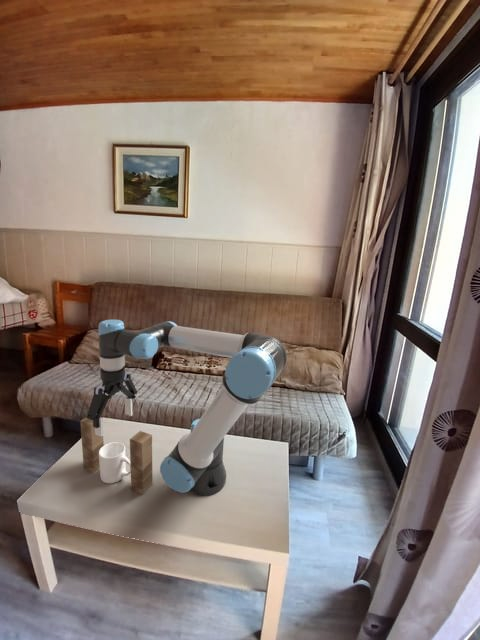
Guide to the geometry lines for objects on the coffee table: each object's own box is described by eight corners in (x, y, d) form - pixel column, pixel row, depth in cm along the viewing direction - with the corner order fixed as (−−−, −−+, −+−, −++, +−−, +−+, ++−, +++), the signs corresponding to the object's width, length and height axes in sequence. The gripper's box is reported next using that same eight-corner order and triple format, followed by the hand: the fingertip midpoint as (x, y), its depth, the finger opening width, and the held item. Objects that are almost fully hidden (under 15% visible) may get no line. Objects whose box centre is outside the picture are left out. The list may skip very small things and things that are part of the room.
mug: (123, 489, 105) (122, 463, 103) (94, 480, 108) (93, 454, 106) (138, 472, 113) (138, 447, 111) (111, 464, 116) (110, 439, 114)
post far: (104, 464, 116) (102, 417, 111) (94, 473, 112) (90, 424, 107) (94, 460, 118) (91, 414, 113) (83, 468, 113) (80, 420, 108)
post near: (152, 484, 108) (152, 434, 103) (143, 494, 104) (142, 443, 99) (140, 479, 110) (140, 430, 105) (131, 489, 105) (129, 438, 101)
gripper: (130, 353, 113) (131, 404, 118) (70, 378, 90) (75, 441, 96) (147, 357, 110) (147, 410, 115) (90, 384, 88) (93, 448, 93)
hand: (114, 424), depth 106 cm, fingers open, 13 cm apart
